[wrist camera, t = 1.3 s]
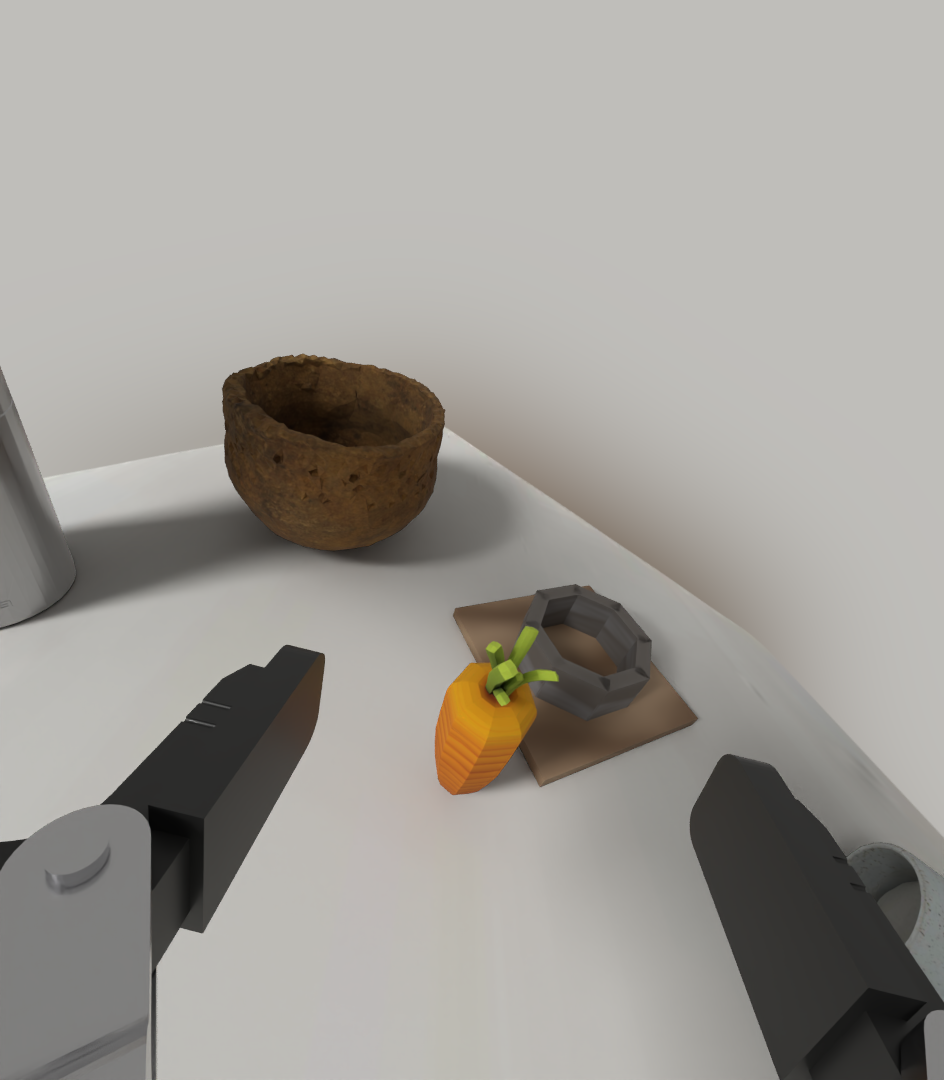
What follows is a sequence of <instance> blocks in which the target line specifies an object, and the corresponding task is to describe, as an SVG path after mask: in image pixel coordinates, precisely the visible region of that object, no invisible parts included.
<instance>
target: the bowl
mask: <svg viewBox="0 0 944 1080" xmlns="http://www.w3.org/2000/svg"><path fill="white" fill-rule="evenodd" d="M222 391H223V401H222V402H223V413H224V418H225V430H226V434H225V440H224V448H225V464H226V467H227V470H228V475H229V477H230V479H231V481H232V483H233V485H234V487H235V489H236V491H237V492H238V494H239V495H240V496H241V498H242V499H243V500H244V501H245V503H246V504H247V505H248V506H249V508H250V509H251V511H252V512H253V513H254V514H255V515H256V516H257V517H258V518H259V519H260V520H261V521H262V522H263V523H264V524H265V525H266V526H267V527H268V528H269V529H270V530H271V531H273V532H274V533H275V534H276V535H278V536H280V537H282V538H284V539H287V540H289V541H291V542H294V543H296V544H299V545H302V546H305V547H310V548H314V549H319V550H332V551H335V550H344V549H353V548H358V547H363V546H370V545H372V544H374V543H376V542H378V541H380V540H383V539H386V538H388V537H390V536H391V535H393V534H395V533H397V532H399V531H401V530H402V529H403V528H404V527H405V526H407V525H408V524H409V522H410V521H412V520H413V519H414V518H415V517H416V516H417V515H419V513H420V512H421V511H422V510H423V509H424V507H425V505H426V503H427V501H428V499H429V498H430V496H431V495H432V493H433V488H434V485H435V481H436V475H437V456H438V453H439V449H440V446H441V441H442V435H443V428H444V425H445V423H444V417H445V416H444V413H445V409H443V408H442V405H441V403H440V402H439V399H438V398H437V397H436V396H435V394H434V393H433V392H430V390H429V389H428V388H427V387H426V386H424V385H423V384H421V383H420V382H417V381H416V380H415V379H410V378H408V377H406V376H404V375H402V374H400V373H395V372H391V371H389V370H387V369H379V368H377V367H376V366H374V365H361V364H355V363H346V362H343V361H340V360H338V359H335V358H333V359H332V358H331V359H327V358H326V357H317V356H315V355H312V356H307V355H305V354H300V355H298V356H296V357H294V356H293V355H290V356H285V357H276V358H273V359H272V360H271V361H270V362H264V363H262V364H259V365H257V366H256V367H249V368H246V369H243V370H240V371H239V372H238V373H233V374H232V375H230V376H229V377H228V378H227V379H226V380H225V382H224V385H223V388H222Z"/></svg>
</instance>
